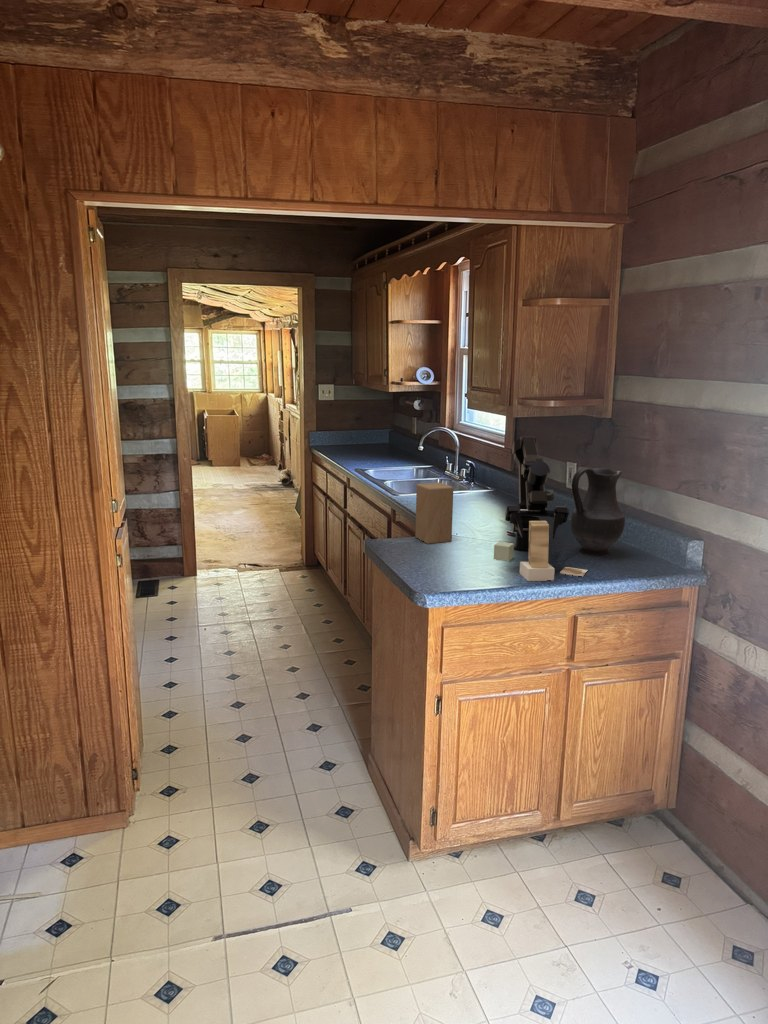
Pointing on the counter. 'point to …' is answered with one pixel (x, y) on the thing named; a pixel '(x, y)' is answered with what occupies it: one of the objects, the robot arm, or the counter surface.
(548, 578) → the cream base block
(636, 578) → the counter surface
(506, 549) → the sage cube
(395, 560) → the counter surface
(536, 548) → the maple block
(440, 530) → the wooden block
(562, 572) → the tile
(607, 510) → the pitcher
